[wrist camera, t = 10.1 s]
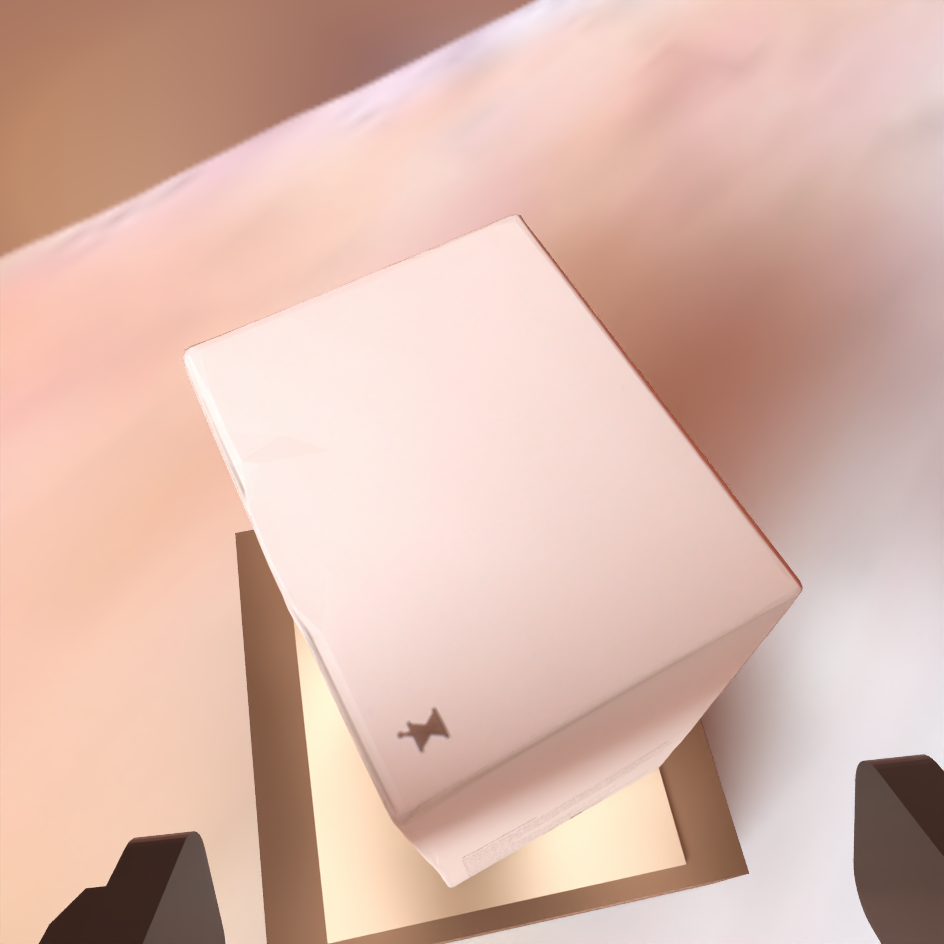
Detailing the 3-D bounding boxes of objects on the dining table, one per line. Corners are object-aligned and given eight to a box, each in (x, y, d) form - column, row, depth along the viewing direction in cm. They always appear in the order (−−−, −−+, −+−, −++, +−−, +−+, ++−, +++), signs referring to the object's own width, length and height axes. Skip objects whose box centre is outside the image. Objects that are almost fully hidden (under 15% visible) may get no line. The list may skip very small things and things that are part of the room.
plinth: (602, 526, 32) (619, 457, 27) (708, 885, 26) (751, 872, 22) (273, 590, 31) (233, 530, 27) (310, 973, 26) (267, 980, 21)
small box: (664, 768, 23) (823, 595, 12) (448, 894, 22) (386, 843, 10) (512, 520, 27) (519, 199, 15) (318, 618, 25) (163, 348, 14)
